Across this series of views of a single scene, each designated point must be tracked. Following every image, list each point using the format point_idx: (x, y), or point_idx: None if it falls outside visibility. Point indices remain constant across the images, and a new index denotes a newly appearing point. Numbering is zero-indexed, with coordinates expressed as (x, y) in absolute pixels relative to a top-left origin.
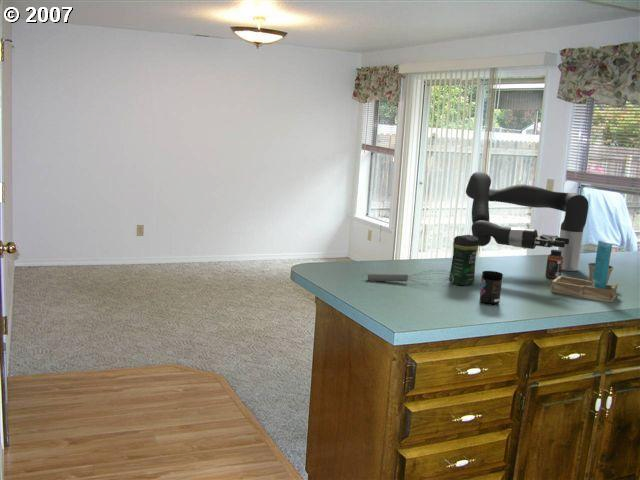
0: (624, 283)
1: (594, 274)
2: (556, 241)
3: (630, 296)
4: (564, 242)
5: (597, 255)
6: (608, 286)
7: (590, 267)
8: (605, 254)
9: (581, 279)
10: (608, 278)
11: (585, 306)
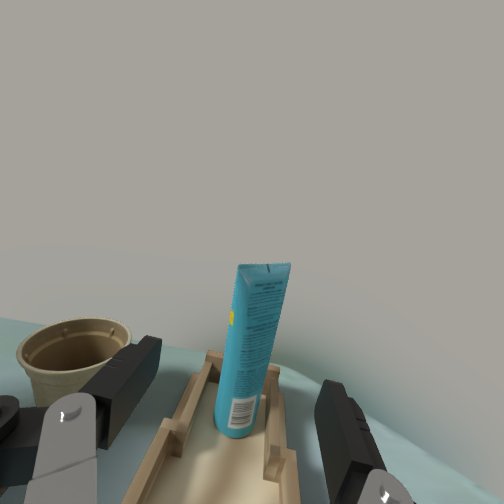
0: (15, 336)
1: (251, 381)
2: (362, 446)
3: (181, 353)
4: (339, 384)
5: (253, 318)
6: (207, 375)
7: (81, 376)
8: (281, 301)
9: (152, 446)
10: (109, 357)
11: (397, 476)
